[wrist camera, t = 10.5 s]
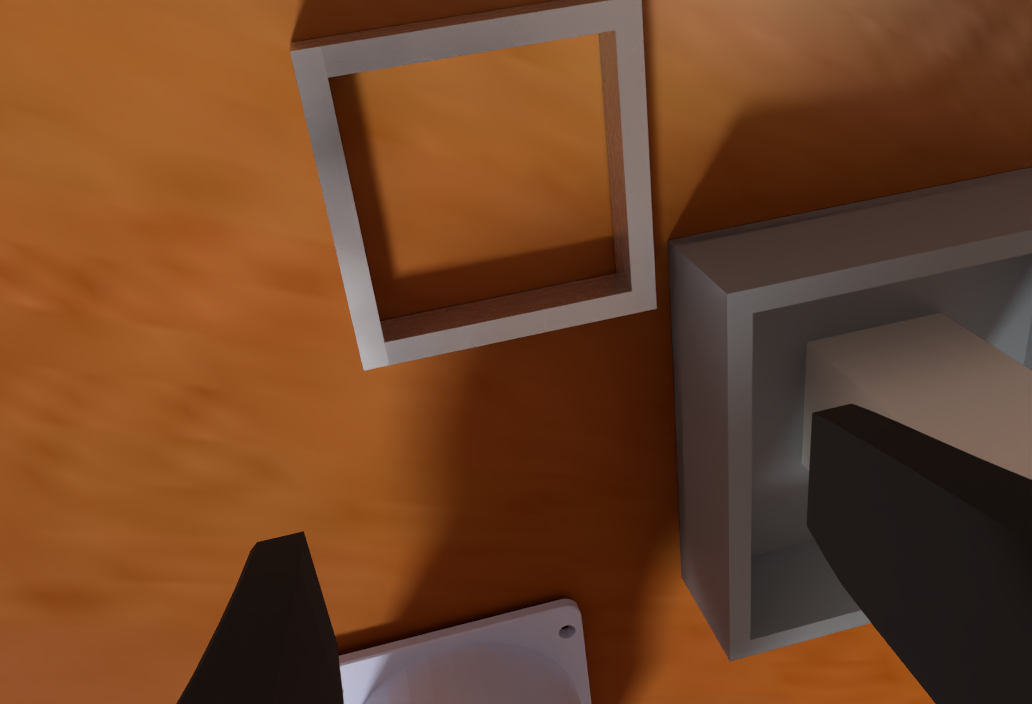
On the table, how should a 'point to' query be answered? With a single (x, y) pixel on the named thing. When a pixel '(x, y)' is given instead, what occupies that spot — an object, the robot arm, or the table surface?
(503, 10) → the steel socket
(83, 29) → the table surface
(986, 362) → the strut
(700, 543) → the bin
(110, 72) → the table surface
